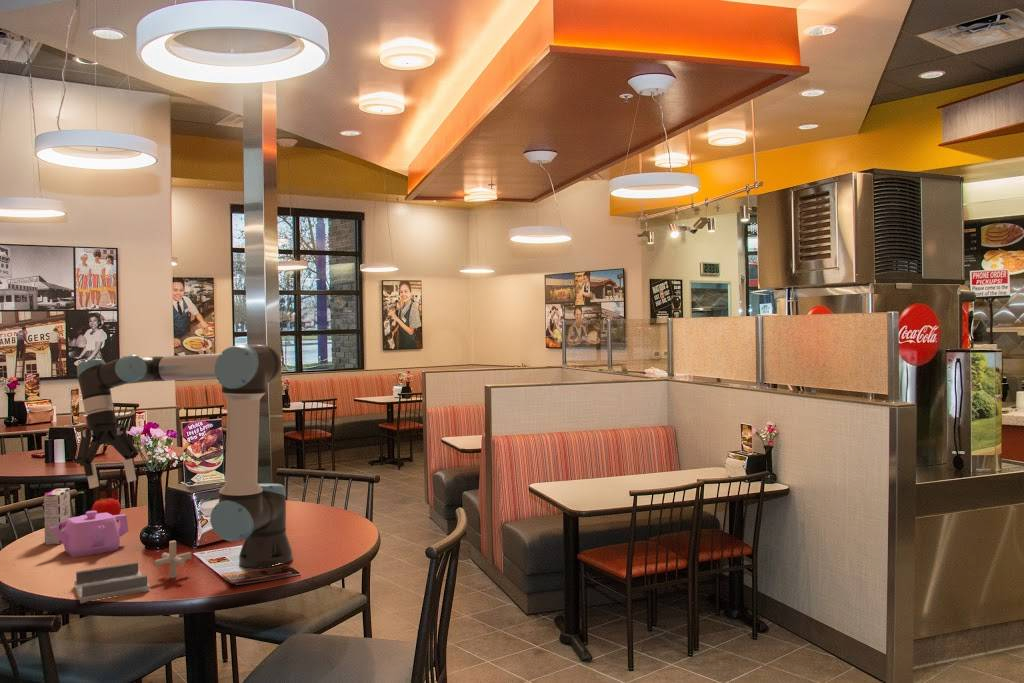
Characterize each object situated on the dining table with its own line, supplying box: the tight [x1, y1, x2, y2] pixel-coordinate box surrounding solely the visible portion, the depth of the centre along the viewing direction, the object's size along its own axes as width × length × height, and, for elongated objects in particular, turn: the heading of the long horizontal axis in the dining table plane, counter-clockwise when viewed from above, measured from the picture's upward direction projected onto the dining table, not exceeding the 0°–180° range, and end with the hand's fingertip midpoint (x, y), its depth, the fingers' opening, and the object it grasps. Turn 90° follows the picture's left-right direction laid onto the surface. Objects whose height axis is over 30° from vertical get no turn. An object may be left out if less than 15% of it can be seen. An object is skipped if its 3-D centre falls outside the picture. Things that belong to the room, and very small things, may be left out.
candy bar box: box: [43, 487, 72, 546], centre depth 256 cm, size 11×5×16 cm, turn 14°
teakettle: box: [50, 510, 129, 558], centre depth 244 cm, size 17×17×12 cm
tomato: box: [90, 496, 122, 515], centre depth 283 cm, size 9×10×8 cm
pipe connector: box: [153, 540, 193, 579], centre depth 215 cm, size 10×10×10 cm
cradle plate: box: [73, 561, 150, 604], centre depth 206 cm, size 16×16×4 cm
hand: (113, 484), depth 221 cm, fingers open, 13 cm apart
